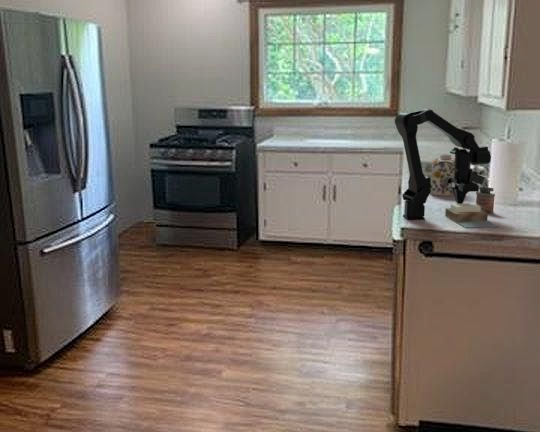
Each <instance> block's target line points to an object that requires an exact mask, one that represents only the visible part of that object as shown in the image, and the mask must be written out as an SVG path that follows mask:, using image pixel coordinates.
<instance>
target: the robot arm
mask: <svg viewBox="0 0 540 432" xmlns="http://www.w3.org/2000/svg"><path fill="white" fill-rule="evenodd" d="M424 123H428V124H429V125H430V126H432V127H434V128H435V129H436V130H438V131H439V132H441V133H442V134H444V135H446V136H447V137H448V139H449V141H450V142H451V143H452V144H453V145H454V147H453V149H451V150H450V151H449V153H450V155H452V154H453V155H454V159H455V163H454V167H452V170H453V171H454V176H453V177H446V178H445V179H444V184H446V185H448V184H449V183H450V184H452V187H450V188H451V190H452V193H453V195H454V196H453V197H454V199H455V202H456V204H461V203H464V200H465V199H466V196H467V194H468V193H469V192H472V193H473V192H477V191H480V189H479V188H480V185H482V186H483V183H484V181H485V179H486V177H485V176H482V175H480V174H479V173H478V171H475V170H474V169H473V168H471V165H472V166H481V165H489V164H490V162H491V161H492V160H491V159H492V154H491V152H490V150H489V147H488V146H479V145H478V143H477V141H476V139H475V138H476V137H475V135H474V134H473V133H472V132H469V131H467V130H465V129H461V128H458V127H457V126H456V125H453V124H452V123H450V122H449V121H448V120H446V119H444V118H443V117H442V116H440V115H438V113H436V112H435V111H434V110H433V109H431V108H430V109H429V108H423V109H421V110H417V111H411V112H400V113H398V114H397V115H396V117H395V118H394V124H395V127H396V130H397V132H398V133H399V135H400V137H401V138H402V141H403V147H404V151H405V152H404V153H405V156H406V161H407V166H408V167H407V168H408V172H409V179H408V186H407V187H408V188H406V190H405V191H404V192H403V193H402V195H401V196H402V199H403V200H404V211H403V212H404V214H402V217H403V218H405V219H407V220H425V212H426V211H425V210H426V209H425V207H426V206H425V205H424V204H426V203H427V201H428V197H429V196H430V193H431V188H432V186H431V176H430V177H429V176H426V175H425V174H424V171H423V167H422V161H421V156H420V152H419V151H420V150H419V145H418V140H417V133H418V129H419V127H418V126H419V125H423V124H424ZM468 150H469V151H468Z"/></svg>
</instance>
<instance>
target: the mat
mask: <svg viewBox="0 0 540 432" xmlns="http://www.w3.org/2000/svg"><path fill="white" fill-rule="evenodd" d="M454 223H456V224H458V225H459V226H461V227H462V228H464V229H480V228H481V229H483V228H484V229H486V228H489V229H490V228H499V225H497V224H496V223H495V224H494V223H493V222H491V221H490V220H487V221H455V222H454Z"/></svg>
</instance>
